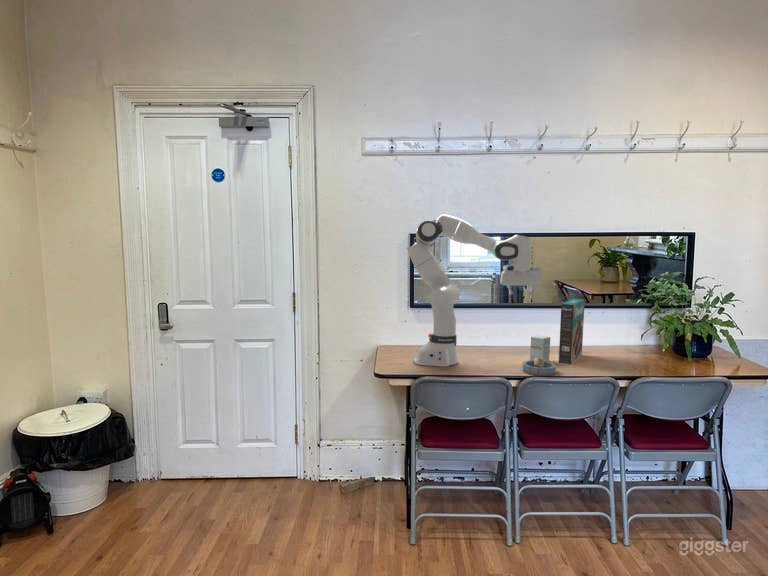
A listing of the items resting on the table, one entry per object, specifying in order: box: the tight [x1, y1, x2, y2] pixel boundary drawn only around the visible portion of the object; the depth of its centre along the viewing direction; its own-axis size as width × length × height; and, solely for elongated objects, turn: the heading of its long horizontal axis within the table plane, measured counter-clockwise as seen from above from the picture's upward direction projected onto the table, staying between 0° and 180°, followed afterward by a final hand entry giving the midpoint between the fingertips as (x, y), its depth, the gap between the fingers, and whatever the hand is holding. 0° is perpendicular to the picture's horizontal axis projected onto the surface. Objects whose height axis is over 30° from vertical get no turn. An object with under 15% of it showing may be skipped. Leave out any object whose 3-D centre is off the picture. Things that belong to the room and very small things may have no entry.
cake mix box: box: [558, 298, 586, 365], centre depth 275 cm, size 22×6×30 cm, turn 146°
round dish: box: [521, 359, 557, 377], centre depth 253 cm, size 15×15×4 cm
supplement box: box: [529, 334, 551, 362], centre depth 272 cm, size 7×7×13 cm
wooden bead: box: [534, 358, 544, 368], centre depth 252 cm, size 4×4×5 cm
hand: (520, 294), depth 269 cm, fingers open, 8 cm apart
